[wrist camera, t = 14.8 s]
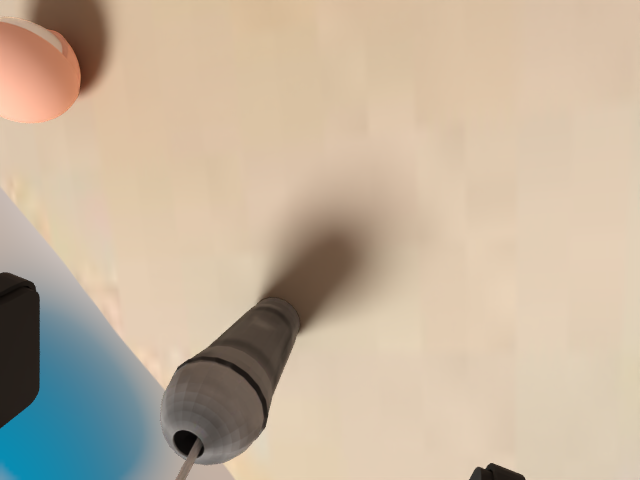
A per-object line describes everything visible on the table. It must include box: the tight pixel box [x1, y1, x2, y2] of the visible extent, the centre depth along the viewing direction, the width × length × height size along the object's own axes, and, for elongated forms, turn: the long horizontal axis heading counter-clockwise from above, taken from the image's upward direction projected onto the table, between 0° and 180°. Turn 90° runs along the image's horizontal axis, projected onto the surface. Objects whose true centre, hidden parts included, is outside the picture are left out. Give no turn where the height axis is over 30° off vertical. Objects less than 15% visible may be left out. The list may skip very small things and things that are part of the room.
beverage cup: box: [160, 298, 300, 480], centre depth 34 cm, size 7×7×20 cm
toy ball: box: [0, 17, 81, 123], centre depth 36 cm, size 8×8×8 cm
